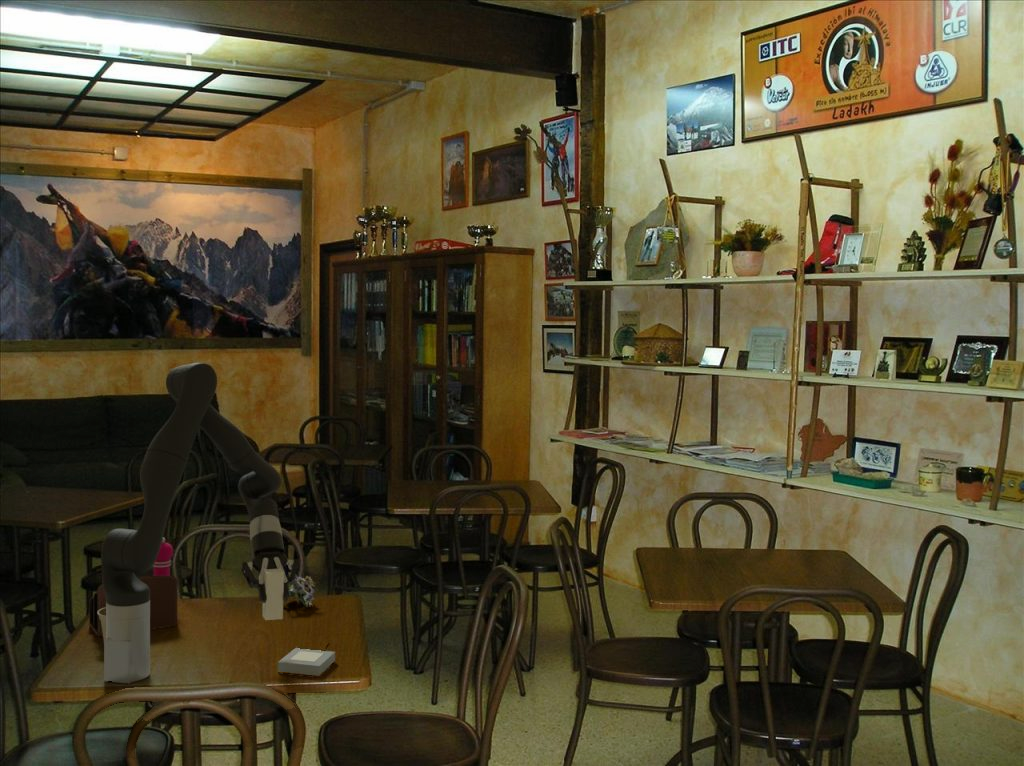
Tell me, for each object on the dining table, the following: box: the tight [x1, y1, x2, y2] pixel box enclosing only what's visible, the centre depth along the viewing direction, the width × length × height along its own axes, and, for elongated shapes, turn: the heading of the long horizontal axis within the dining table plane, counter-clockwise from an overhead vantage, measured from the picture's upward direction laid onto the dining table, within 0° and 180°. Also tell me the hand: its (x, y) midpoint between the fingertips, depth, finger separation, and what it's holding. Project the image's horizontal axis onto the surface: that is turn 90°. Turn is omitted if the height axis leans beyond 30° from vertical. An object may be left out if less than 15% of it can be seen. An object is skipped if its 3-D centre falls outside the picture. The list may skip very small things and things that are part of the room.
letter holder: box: [88, 575, 179, 638], centre depth 261 cm, size 10×20×14 cm, turn 124°
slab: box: [277, 647, 336, 675], centre depth 235 cm, size 10×10×3 cm
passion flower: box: [283, 572, 316, 608], centre depth 283 cm, size 11×11×12 cm
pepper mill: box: [152, 536, 174, 576], centre depth 277 cm, size 7×7×20 cm
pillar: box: [261, 569, 285, 621], centre depth 237 cm, size 4×4×11 cm
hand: (274, 600), depth 235 cm, fingers closed on pillar, 4 cm apart
